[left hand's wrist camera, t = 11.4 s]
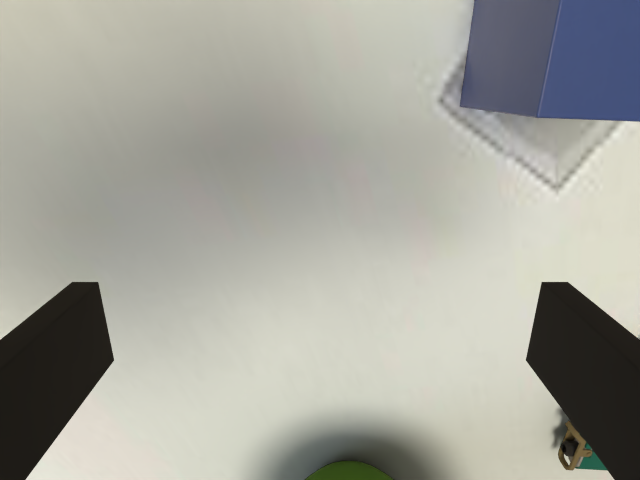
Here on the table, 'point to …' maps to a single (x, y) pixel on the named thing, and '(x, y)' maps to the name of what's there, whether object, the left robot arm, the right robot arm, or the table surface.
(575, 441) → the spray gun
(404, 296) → the table surface
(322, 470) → the vase
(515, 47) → the block
